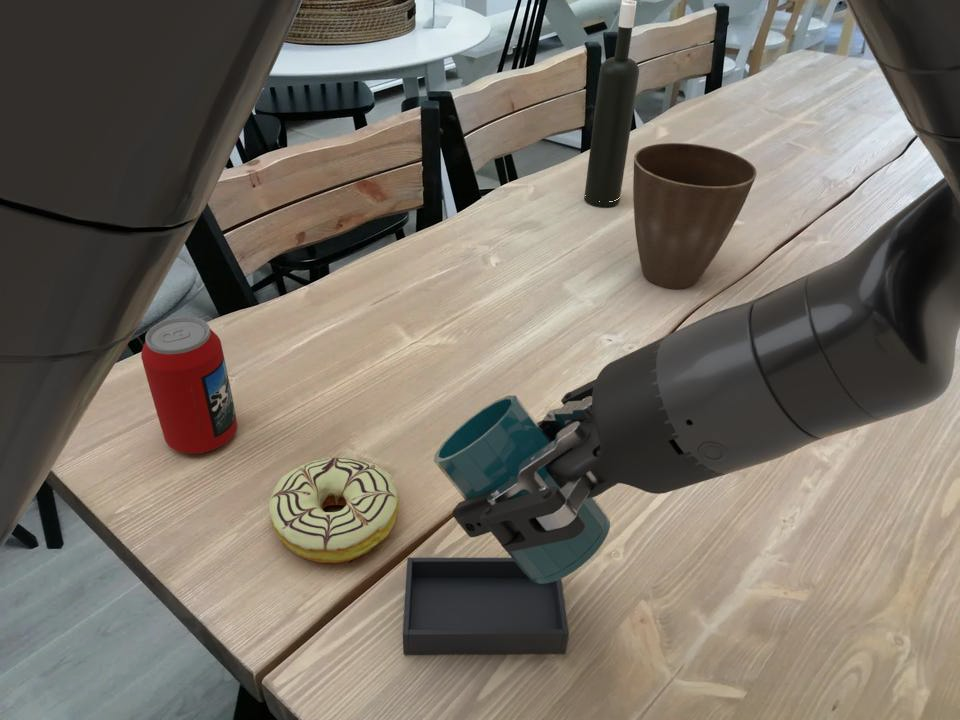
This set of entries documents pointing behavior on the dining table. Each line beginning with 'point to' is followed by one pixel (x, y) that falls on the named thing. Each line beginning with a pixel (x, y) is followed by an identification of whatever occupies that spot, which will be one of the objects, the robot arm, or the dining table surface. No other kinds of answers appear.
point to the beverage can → (189, 384)
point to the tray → (480, 609)
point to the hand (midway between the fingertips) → (489, 484)
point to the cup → (495, 460)
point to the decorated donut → (334, 532)
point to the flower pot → (685, 208)
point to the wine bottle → (613, 117)
